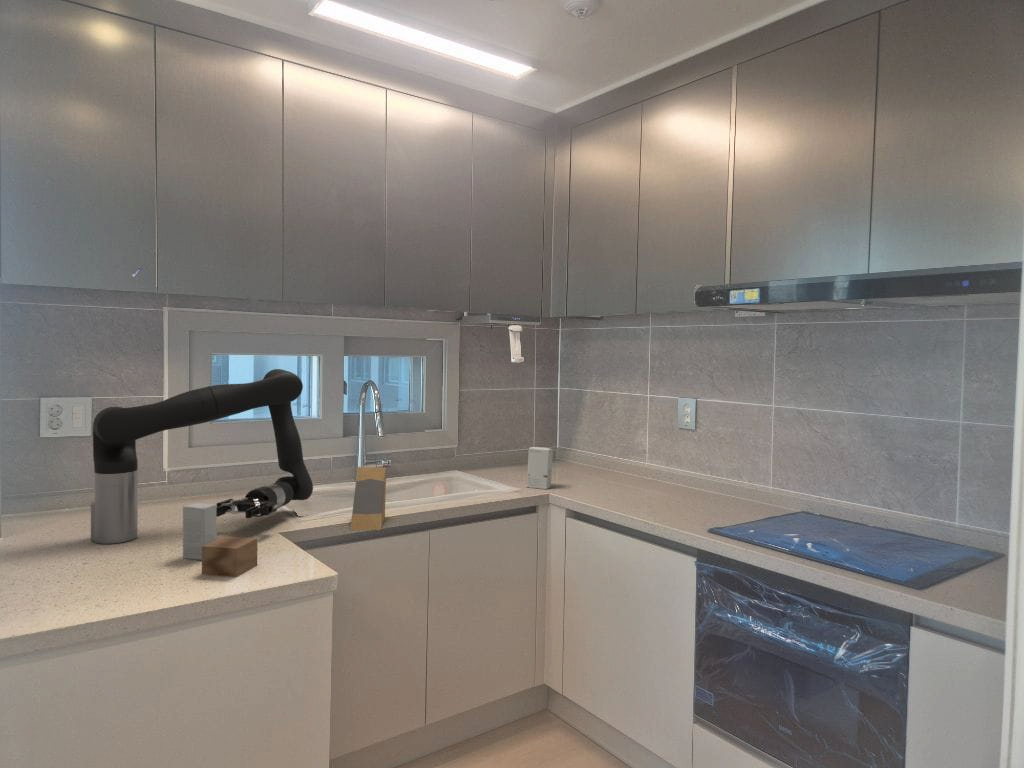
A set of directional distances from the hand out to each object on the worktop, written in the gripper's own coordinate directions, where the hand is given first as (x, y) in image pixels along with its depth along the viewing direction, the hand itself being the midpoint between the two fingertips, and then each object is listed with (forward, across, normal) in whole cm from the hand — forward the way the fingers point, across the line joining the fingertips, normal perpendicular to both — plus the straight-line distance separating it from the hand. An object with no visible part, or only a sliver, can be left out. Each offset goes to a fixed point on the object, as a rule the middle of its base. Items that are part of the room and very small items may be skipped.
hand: (231, 513), depth 160 cm
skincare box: (+12, 0, +7) cm, 14 cm away
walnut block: (+19, +12, +7) cm, 24 cm away
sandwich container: (-26, +26, +8) cm, 37 cm away
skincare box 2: (-91, +68, +8) cm, 114 cm away
